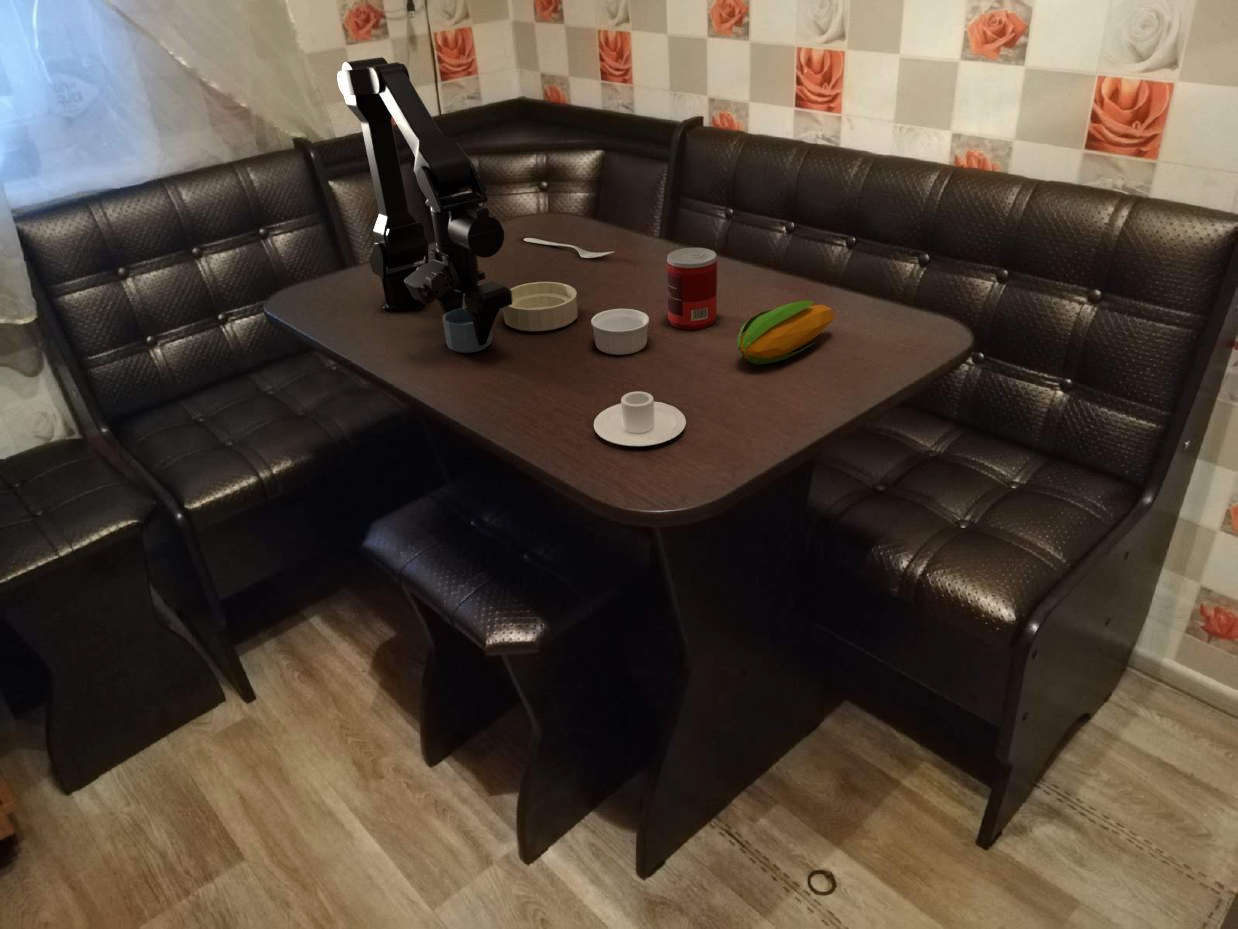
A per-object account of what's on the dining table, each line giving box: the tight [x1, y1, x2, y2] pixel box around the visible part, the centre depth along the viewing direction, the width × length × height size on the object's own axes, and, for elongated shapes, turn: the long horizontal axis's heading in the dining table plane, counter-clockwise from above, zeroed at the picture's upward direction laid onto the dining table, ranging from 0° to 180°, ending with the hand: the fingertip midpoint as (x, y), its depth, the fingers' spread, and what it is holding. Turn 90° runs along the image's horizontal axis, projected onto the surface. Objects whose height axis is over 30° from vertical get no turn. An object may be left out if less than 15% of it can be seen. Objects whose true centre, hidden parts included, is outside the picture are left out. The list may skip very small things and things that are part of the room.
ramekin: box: [590, 308, 650, 356], centre depth 142 cm, size 9×9×4 cm
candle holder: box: [593, 391, 687, 447], centre depth 119 cm, size 12×12×4 cm
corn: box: [736, 300, 835, 366], centre depth 136 cm, size 7×8×20 cm
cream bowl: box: [501, 281, 579, 332], centre depth 152 cm, size 12×12×4 cm
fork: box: [523, 237, 615, 259], centre depth 182 cm, size 3×24×2 cm, turn 48°
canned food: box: [666, 247, 718, 331], centre depth 147 cm, size 8×8×11 cm
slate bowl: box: [442, 306, 494, 354], centre depth 144 cm, size 7×7×5 cm
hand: (469, 337), depth 145 cm, fingers closed on slate bowl, 7 cm apart
